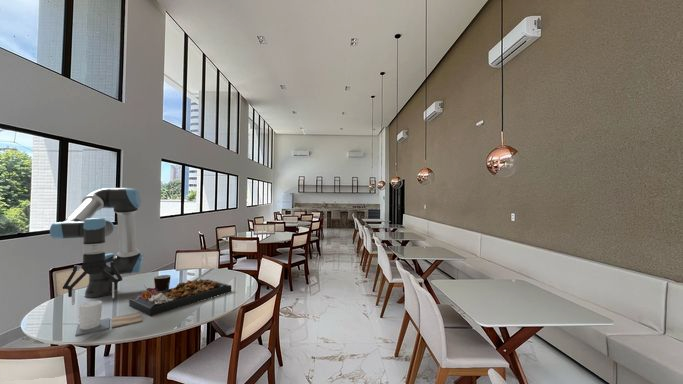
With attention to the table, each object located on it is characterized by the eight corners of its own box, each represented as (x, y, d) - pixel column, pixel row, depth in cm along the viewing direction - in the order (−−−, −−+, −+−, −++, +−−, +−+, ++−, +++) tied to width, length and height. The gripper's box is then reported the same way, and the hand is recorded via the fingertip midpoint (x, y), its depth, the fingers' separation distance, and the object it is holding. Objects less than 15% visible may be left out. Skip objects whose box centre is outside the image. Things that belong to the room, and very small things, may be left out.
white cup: (87, 323, 133) (87, 301, 133) (106, 322, 134) (106, 300, 134) (73, 331, 125) (73, 307, 125) (93, 330, 126) (93, 306, 126)
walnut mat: (112, 318, 139) (112, 317, 139) (140, 313, 146) (140, 311, 146) (112, 328, 129) (112, 326, 129) (142, 321, 136) (142, 320, 136)
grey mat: (78, 325, 132) (78, 324, 132) (109, 319, 139) (109, 318, 139) (75, 336, 122) (75, 334, 122) (109, 328, 128) (109, 327, 128)
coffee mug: (162, 296, 171) (162, 279, 172) (150, 295, 173) (150, 278, 173) (177, 290, 183) (177, 273, 183) (165, 289, 184) (165, 273, 185)
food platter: (150, 317, 142) (150, 296, 142) (129, 307, 156) (129, 287, 156) (231, 292, 179) (231, 275, 179) (208, 285, 193) (208, 270, 193)
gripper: (54, 257, 120) (53, 309, 120) (129, 250, 136) (128, 296, 135) (56, 254, 126) (56, 304, 126) (128, 248, 141) (128, 292, 141)
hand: (93, 300), depth 130 cm, fingers open, 13 cm apart
